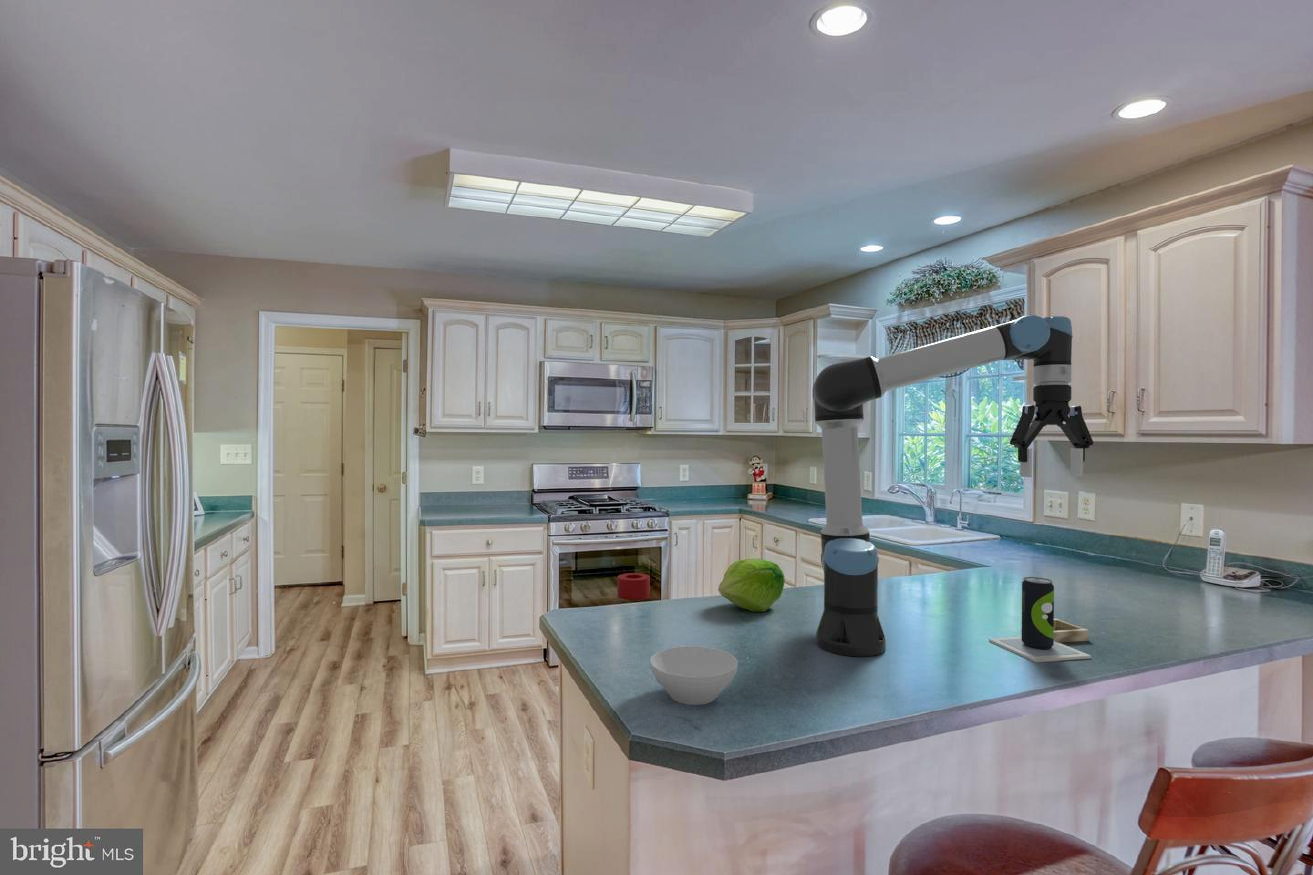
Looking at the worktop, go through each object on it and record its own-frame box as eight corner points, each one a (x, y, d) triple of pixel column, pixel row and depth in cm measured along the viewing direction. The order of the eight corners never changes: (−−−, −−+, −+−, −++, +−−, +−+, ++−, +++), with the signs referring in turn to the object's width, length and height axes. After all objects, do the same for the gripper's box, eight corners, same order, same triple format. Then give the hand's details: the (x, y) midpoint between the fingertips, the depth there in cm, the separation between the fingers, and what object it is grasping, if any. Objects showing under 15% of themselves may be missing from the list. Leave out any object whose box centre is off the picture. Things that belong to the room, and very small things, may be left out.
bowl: (642, 714, 109) (642, 673, 109) (656, 679, 125) (657, 643, 125) (736, 721, 107) (736, 679, 107) (738, 684, 122) (739, 648, 122)
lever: (647, 603, 181) (647, 580, 181) (615, 603, 182) (615, 579, 182) (653, 588, 199) (654, 567, 199) (624, 587, 200) (624, 566, 200)
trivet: (1034, 662, 135) (1035, 659, 135) (988, 641, 149) (988, 638, 149) (1091, 658, 138) (1091, 655, 138) (1040, 637, 152) (1040, 634, 152)
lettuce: (705, 606, 178) (706, 557, 178) (765, 599, 186) (766, 552, 186) (733, 620, 164) (733, 568, 164) (797, 612, 173) (797, 561, 173)
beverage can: (1019, 640, 148) (1019, 575, 148) (1050, 643, 145) (1050, 577, 145) (1024, 648, 142) (1024, 581, 142) (1056, 651, 140) (1056, 583, 140)
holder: (1054, 642, 148) (1054, 632, 148) (1023, 630, 157) (1023, 620, 157) (1088, 640, 150) (1088, 630, 150) (1056, 628, 159) (1056, 618, 159)
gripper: (1017, 382, 141) (1016, 478, 141) (1112, 384, 146) (1111, 477, 146) (993, 384, 148) (992, 475, 149) (1084, 386, 153) (1083, 475, 153)
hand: (1051, 476), depth 147 cm, fingers open, 13 cm apart
